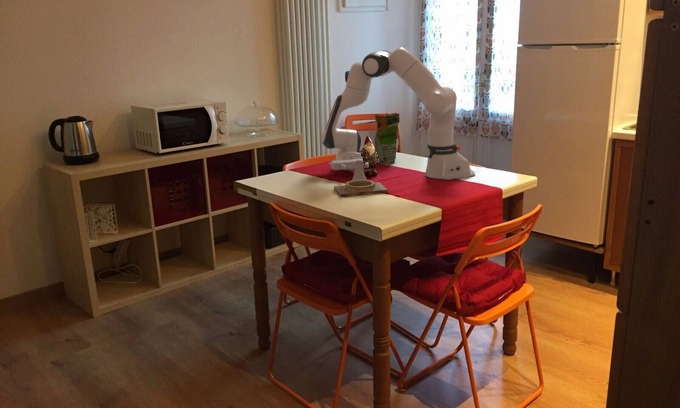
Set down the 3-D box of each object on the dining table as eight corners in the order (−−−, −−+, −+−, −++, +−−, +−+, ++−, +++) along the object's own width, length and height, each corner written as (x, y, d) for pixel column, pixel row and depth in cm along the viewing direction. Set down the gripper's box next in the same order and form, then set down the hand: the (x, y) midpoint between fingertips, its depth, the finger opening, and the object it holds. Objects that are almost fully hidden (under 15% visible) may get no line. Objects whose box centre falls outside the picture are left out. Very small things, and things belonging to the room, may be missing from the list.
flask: (366, 185, 254) (365, 162, 251) (350, 184, 255) (349, 162, 252) (368, 180, 261) (368, 159, 258) (352, 180, 262) (352, 159, 259)
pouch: (401, 159, 298) (400, 111, 291) (394, 165, 288) (393, 114, 281) (380, 159, 302) (379, 110, 295) (373, 164, 292) (372, 114, 285)
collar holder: (379, 185, 252) (379, 177, 251) (387, 193, 240) (387, 184, 239) (334, 189, 249) (333, 181, 248) (340, 197, 236) (339, 189, 235)
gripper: (327, 156, 272) (333, 162, 259) (370, 152, 275) (378, 158, 262) (328, 169, 273) (334, 176, 260) (370, 165, 277) (378, 171, 264)
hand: (356, 167), depth 261 cm, fingers open, 8 cm apart
